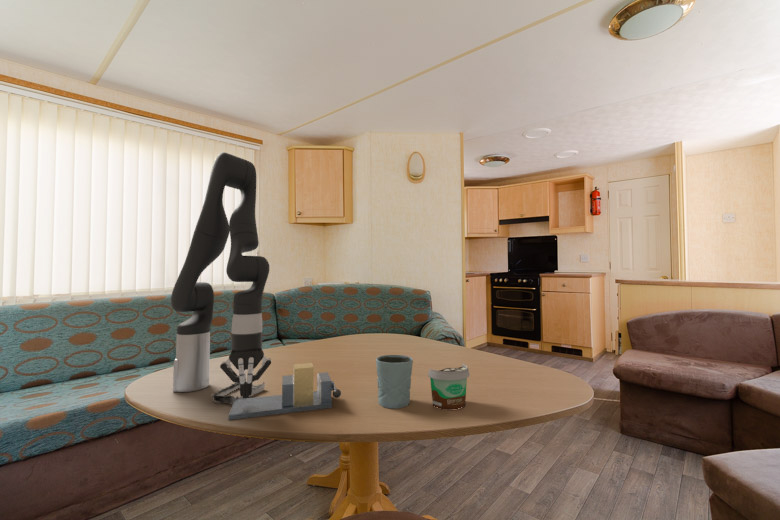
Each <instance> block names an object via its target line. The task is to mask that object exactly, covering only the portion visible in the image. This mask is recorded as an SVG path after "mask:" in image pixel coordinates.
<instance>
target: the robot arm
mask: <svg viewBox="0 0 780 520" xmlns="http://www.w3.org/2000/svg"><path fill="white" fill-rule="evenodd" d="M211 167H212V168H211V171H210V176H209V180H208V184H207V188H206V193H205V198H204V202H203V205H202V207H201V208H202V209H201V211H200V215H199V217H198V220H197V222H196V225H195V229H194V231H193V233H192V234H193V235H192V237H191V242H190V246H189V248H188V251H187V255H186V258H185V261H184V263H183V265H182V268H181V270H180V272H179V275H178V277H177V279H176V281H175V284H174V287H173V289H172V292H171V297H170V304H171V308H172V309H173V310H174V311H175V312H178V313H188V312H189V313H191V312H193V313H192V315H191V317H189V318H188V319H187V320H184V321H183V322H181V323H179V324H178V325H177V327H176V346H175V347H176V349H175V351H176V352H175V359H174V360H173V371H172V374H173V375H172V376H173V378H172V379H173V381H172V382H173V383H172V392H179V393H187V392H189V393H190V392H195V391H200V390H203V389H206V388H207V387H209V386H210V359H211V358H210V357H211V356H210V355H211V354H210V353H211V352H210V351H211V327H212V324H213V323H212V322H213V318H214V317H213V315H214V314H213V313H214V307H215V306H214V305H215V304H214V303H215V291H214V289H213V287H212V285H211V284H210V283H208V282H203V281H202V282H198V280H199V278H200V276H201V275H202V273H203V272H204V271H205V270H206V269H207V268H208V267H209V266H210V265H211V264H213V262H214V261H215V260H216V259H218V257H219V256H220V255H221V254H222V253H223V252H224V250H225V247H226V244H227V242H228V239H229V235H230V252H229V257H228V260H227V265H226V275H227V277H228V279H229V280H230V281H232V282H234V283H252V284H251V286H250V287H249V288H248V289H245V290H241V291H237V292H235V293H234V294H233V297H232V298H233V302H232V303H233V304H232V305H233V307H232V320H231V328H230V331H231V337H230V338H231V341H230V342H231V344H230V345H231V346H230V354H229V355H228V358H227V359H226V360H225V361H223V362H221V363H220V365H219V367H220V369H221V370H222V371H223V372H224V374H226V376H227V377H228V378H229V380H231V381H232V382H233V383H235V382H238V383H240V388H239V395H240V397H241V396H243V398H250V397H249V395H251V394H252V385H253V383H254V382H255V381H258V380H259V379H261V377H262V376H263V375H264V373H265V372H266V370H267V369H268V368H269V367H270V366H271V364H272V359H271V358H268V357H267V356H265V353H264V351H263V314H262V310H263V309H262V308H263V307H262V305H263V304H262V303H263V295H264V291H265V287H266V284H267V280H268V278H269V274H270V263H269V261H268V260H267V258H266V257H265V256H261V255H243V253H248V252H249V253H250V252H253V251H255V250H257V248H258V247H259V243H260V242H259V236H258V235H259V234H258V228H257V221H256V204H257V203H256V202H257V170H256V167H255V165H254V163H253V162H252V161H249V160H247V159H244V158H241V157H239V156H236V155H234V154H231V153H228V152H225V151H224V152H223V151H222V152H220V153H218V154H217V156H216V157H215V159H214V161H213V165H212V166H211ZM225 187H228V188H232V189H236V190H239V191H240V195H241V196H240V197H241V198H240V199H241V200H240V202H239V203H238V205H237V206H236V208H235V209H234V211H233V212H232V213H231V215H230V219H228V217H227V214H226V211H225V207H224V203H223V197H224V191H225ZM260 362H261V367H260V368H259V369H258V370H257V372H256V373H255V374H254V369H256V368H257V367H258V365H259V364H260ZM232 365H233V366H234V367H235V369H236V370H238V374H237V373H236V372H235V371H234V370H233V368H232ZM246 370H247V376H246Z"/></svg>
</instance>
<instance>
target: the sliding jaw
mask: <svg viewBox="0 0 780 520" xmlns="http://www.w3.org/2000/svg"><path fill="white" fill-rule="evenodd" d="M281 384H282V385H281V386H282V387H281V389H282V390H281V391H282V393H281V395H282V407H284V406H293V405H294V374H290V375H289V374H288V375H282V383H281Z"/></svg>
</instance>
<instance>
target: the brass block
mask: <svg viewBox="0 0 780 520" xmlns="http://www.w3.org/2000/svg"><path fill="white" fill-rule="evenodd" d="M293 375H294V403H300V402H309V401H313V391H314V364H313V362H305V363H295V364H293Z"/></svg>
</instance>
